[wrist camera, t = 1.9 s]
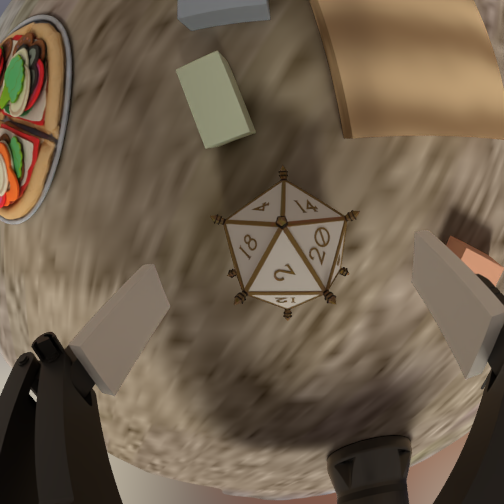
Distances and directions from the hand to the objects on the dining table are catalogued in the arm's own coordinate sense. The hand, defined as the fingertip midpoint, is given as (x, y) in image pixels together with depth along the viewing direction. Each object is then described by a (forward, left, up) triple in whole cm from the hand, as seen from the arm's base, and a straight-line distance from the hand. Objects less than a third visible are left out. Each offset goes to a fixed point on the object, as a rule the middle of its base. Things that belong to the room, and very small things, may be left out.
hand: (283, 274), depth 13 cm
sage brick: (+10, +3, -8) cm, 13 cm away
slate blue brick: (+18, +1, -8) cm, 19 cm away
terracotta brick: (-5, -16, -8) cm, 19 cm away
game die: (0, 0, -8) cm, 8 cm away
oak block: (+13, -12, -8) cm, 19 cm away
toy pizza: (+20, +30, -9) cm, 37 cm away
